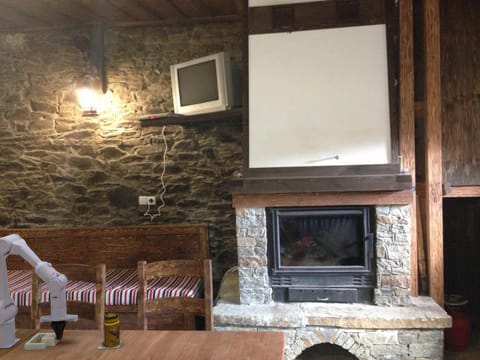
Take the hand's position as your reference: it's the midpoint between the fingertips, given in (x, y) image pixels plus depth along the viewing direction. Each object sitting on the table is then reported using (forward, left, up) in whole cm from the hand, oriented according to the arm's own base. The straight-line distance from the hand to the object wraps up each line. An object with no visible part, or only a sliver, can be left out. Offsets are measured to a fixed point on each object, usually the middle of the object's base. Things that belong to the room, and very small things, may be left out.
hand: (59, 338), depth 166 cm
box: (-7, 0, -2) cm, 7 cm away
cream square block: (-4, 0, -2) cm, 4 cm away
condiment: (+21, -3, -2) cm, 21 cm away
